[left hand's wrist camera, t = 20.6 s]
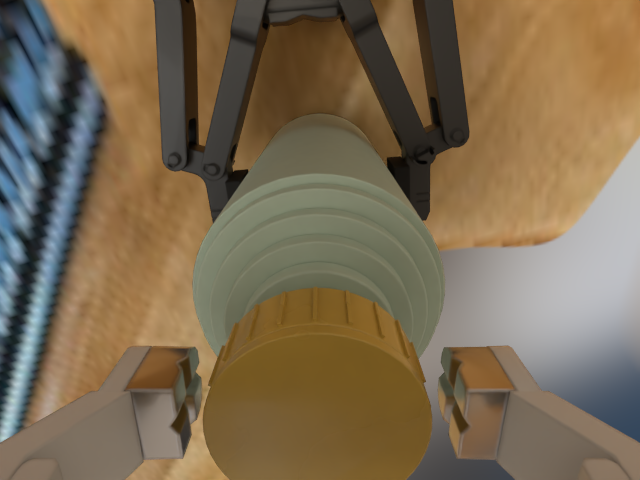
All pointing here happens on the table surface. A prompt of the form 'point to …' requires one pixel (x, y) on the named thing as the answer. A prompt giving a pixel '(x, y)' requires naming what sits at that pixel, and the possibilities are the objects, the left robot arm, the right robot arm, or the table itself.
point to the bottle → (319, 234)
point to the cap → (317, 392)
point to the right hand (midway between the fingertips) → (326, 278)
